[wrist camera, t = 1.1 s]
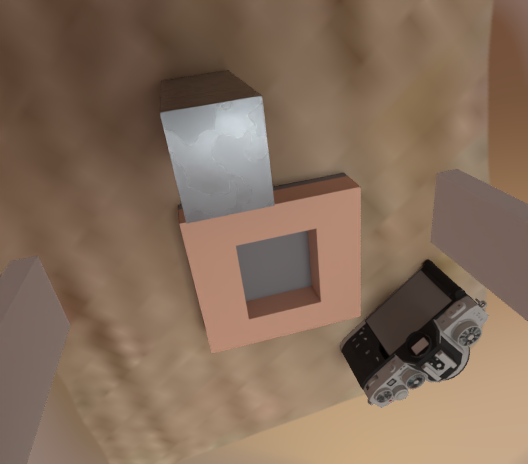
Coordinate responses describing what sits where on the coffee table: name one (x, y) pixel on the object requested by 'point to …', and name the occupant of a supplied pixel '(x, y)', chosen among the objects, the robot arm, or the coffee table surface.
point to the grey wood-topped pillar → (216, 144)
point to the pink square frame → (279, 263)
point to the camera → (414, 337)
